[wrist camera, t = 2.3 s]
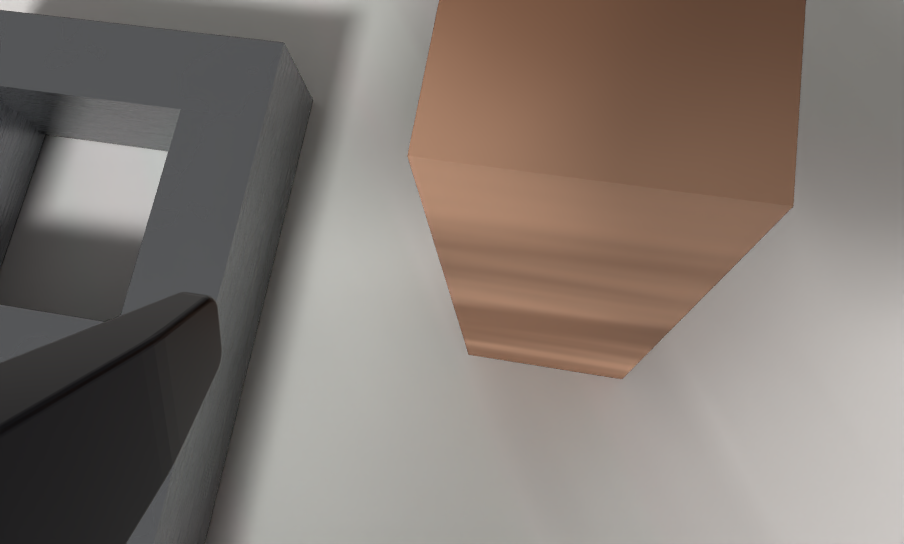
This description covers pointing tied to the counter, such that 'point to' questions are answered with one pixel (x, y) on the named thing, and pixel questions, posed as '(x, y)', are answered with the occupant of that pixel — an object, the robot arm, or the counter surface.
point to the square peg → (601, 164)
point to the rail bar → (164, 193)
